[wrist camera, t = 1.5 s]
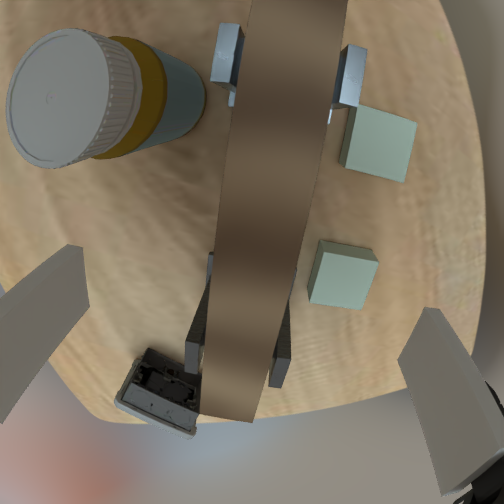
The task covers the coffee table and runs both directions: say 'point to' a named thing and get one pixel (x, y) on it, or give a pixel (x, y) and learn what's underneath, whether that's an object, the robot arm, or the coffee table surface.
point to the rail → (267, 192)
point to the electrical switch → (162, 394)
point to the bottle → (98, 98)
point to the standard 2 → (231, 54)
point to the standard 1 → (198, 332)
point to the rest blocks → (372, 162)
